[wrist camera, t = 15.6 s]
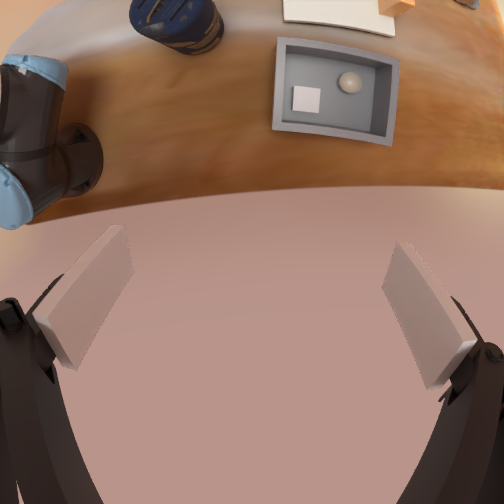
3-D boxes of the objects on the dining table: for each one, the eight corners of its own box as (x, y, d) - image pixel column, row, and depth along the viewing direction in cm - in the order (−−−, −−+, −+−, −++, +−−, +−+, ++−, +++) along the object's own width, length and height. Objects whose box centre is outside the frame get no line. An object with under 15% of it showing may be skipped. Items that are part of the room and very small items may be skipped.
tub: (270, 125, 43) (272, 129, 36) (275, 47, 36) (277, 36, 29) (373, 138, 43) (391, 146, 36) (380, 64, 36) (399, 59, 29)
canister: (237, 31, 35) (221, -6, 19) (193, 66, 38) (153, 50, 22) (200, -1, 31) (168, -43, 16) (158, 34, 35) (107, 10, 19)
